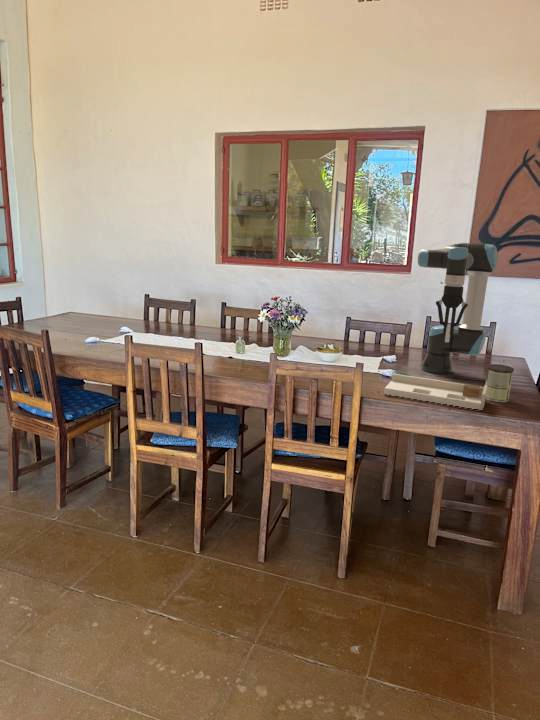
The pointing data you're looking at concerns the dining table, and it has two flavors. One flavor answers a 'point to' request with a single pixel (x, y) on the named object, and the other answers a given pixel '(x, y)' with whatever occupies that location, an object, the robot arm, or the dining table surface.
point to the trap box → (434, 391)
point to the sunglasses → (400, 374)
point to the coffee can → (498, 382)
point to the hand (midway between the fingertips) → (447, 341)
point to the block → (471, 390)
